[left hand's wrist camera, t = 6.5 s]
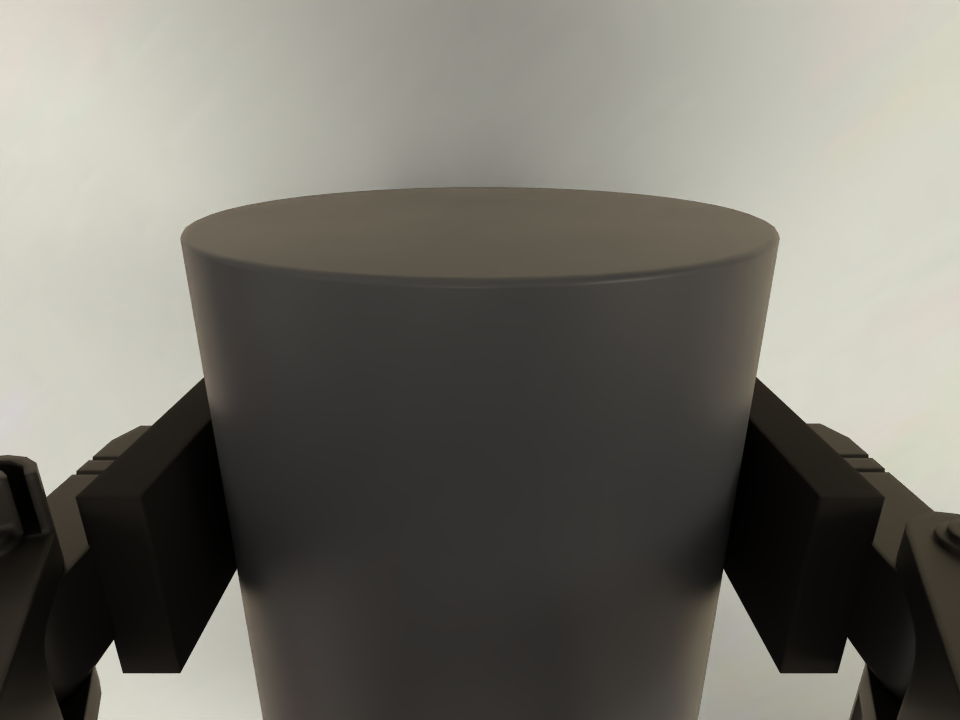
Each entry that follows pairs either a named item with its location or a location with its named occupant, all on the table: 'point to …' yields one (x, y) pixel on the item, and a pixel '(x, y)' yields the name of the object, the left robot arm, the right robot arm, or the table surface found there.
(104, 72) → the table surface
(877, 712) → the left robot arm
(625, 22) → the table surface
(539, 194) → the rod
